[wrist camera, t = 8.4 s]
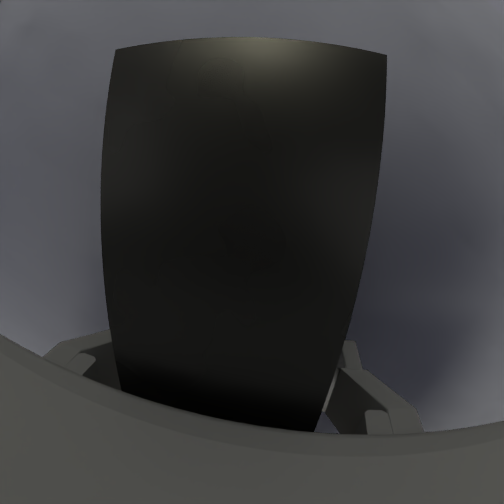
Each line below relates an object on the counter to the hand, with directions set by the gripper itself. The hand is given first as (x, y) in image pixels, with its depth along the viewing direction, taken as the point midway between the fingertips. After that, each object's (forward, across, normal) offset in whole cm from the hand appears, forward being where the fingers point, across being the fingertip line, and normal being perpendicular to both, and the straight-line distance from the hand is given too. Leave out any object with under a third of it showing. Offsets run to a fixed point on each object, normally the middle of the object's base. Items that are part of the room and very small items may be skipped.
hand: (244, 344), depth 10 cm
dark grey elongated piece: (+3, 0, +5) cm, 5 cm away
